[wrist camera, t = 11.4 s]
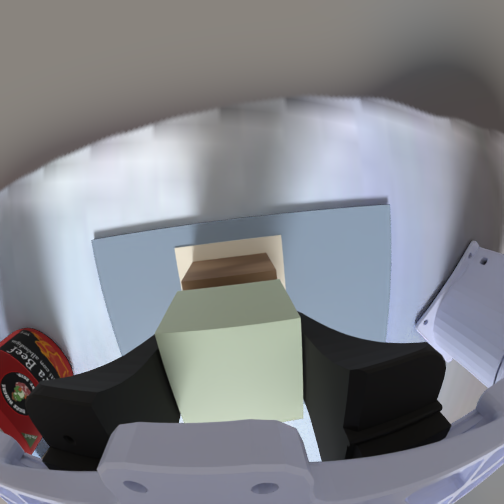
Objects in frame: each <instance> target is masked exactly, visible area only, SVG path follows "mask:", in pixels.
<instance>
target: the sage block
mask: <svg viewBox="0 0 504 504" xmlns="http://www.w3.org/2000/svg"><path fill="white" fill-rule="evenodd" d="M155 337H156V341H157V344H158V347H159V351H160V354H161V358H162V361H163V364H164V367H165V370H166V373H167V376H168V380H169V383H170V385H171V388H172V391H173V394H174V397H175V400H176V402H177V405H178V408H179V411H180V413H181V416H182V418H183V421H184V423H204V422H222V421H235V420H245V419H260V420H278V421H280V422H286V421H292V420H297V419H303V366H302V336H301V317H300V316H299V314H298V312H297V310H296V308H295V306H294V305H293V303H292V301H291V299H290V297H289V295H288V294H287V292H286V290H285V288H284V286H283V284H282V283H281V281H280V279H276V280H268V281H260V282H253V283H245V284H236V285H228V286H220V287H211V288H202V289H193V290H183V291H177V293H176V295H175V296H174V298H173V300H172V302H171V304H170V306H169V307H168V309H167V311H166V313H165V315H164V317H163V319H162V321H161V323H160V324H159V326H158V328H157V330H156V332H155Z"/></svg>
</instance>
